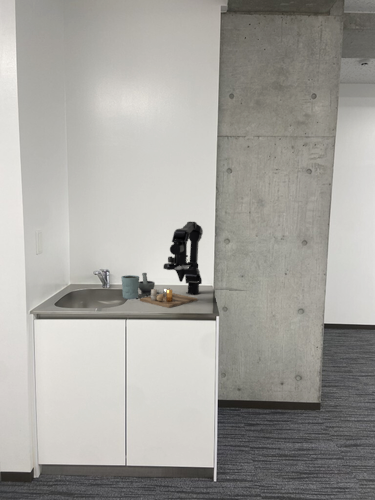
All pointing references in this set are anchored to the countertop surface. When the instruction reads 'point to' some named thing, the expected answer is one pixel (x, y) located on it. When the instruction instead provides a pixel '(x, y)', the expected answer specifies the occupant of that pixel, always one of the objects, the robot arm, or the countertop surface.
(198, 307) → the countertop surface
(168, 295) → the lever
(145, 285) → the mortar and pestle
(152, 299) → the board
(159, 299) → the dough ball
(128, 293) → the teal ceramic pot
